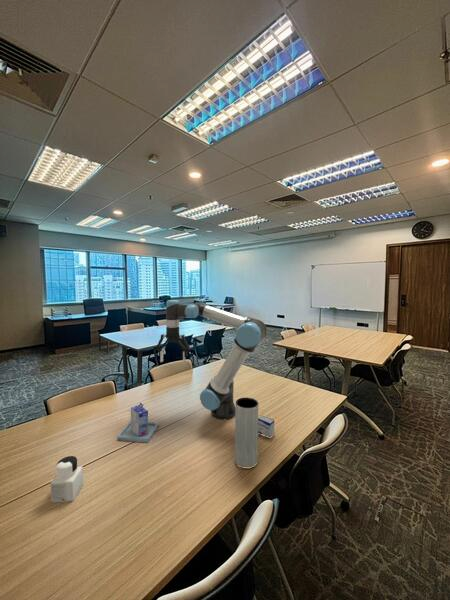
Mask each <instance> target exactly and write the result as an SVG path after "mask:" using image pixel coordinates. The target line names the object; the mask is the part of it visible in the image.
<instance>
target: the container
mask: <svg viewBox="0 0 450 600" xmlns="http://www.w3.org/2000/svg"><path fill="white" fill-rule="evenodd" d="M55 465H56V466H55V469H56V475H55V476H54V478H53V479H52V480H51V482H50V499H51V500H50V501H51V503H64V502H74V501H75V499H76V498H77V496H78V494H79V493H80V491H81V489H82V487H83V486H84V467H83V466H82V465H81V466H78V458H77V456H74V455H69V456H66V457H63V458H61V459H60V460H59V461H58V462H57V463H56V464H55Z"/></svg>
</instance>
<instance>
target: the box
mask: <svg viewBox="0 0 450 600" xmlns="http://www.w3.org/2000/svg"><path fill="white" fill-rule="evenodd" d="M258 433H260V434H263V435H265V436H268V437H271V436H272V435H273V434H274V435H275V419H272V418H271V417H267V416H265V415H260V416H258ZM260 434H259V435H260Z"/></svg>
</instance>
